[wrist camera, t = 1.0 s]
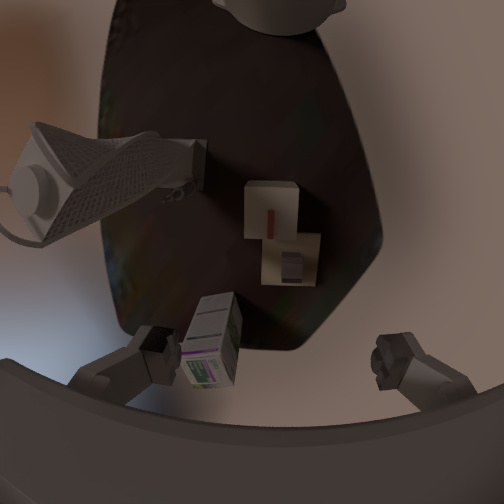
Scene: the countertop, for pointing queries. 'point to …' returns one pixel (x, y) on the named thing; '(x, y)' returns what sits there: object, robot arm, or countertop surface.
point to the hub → (291, 260)
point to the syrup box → (213, 342)
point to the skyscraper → (95, 178)
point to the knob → (270, 210)
